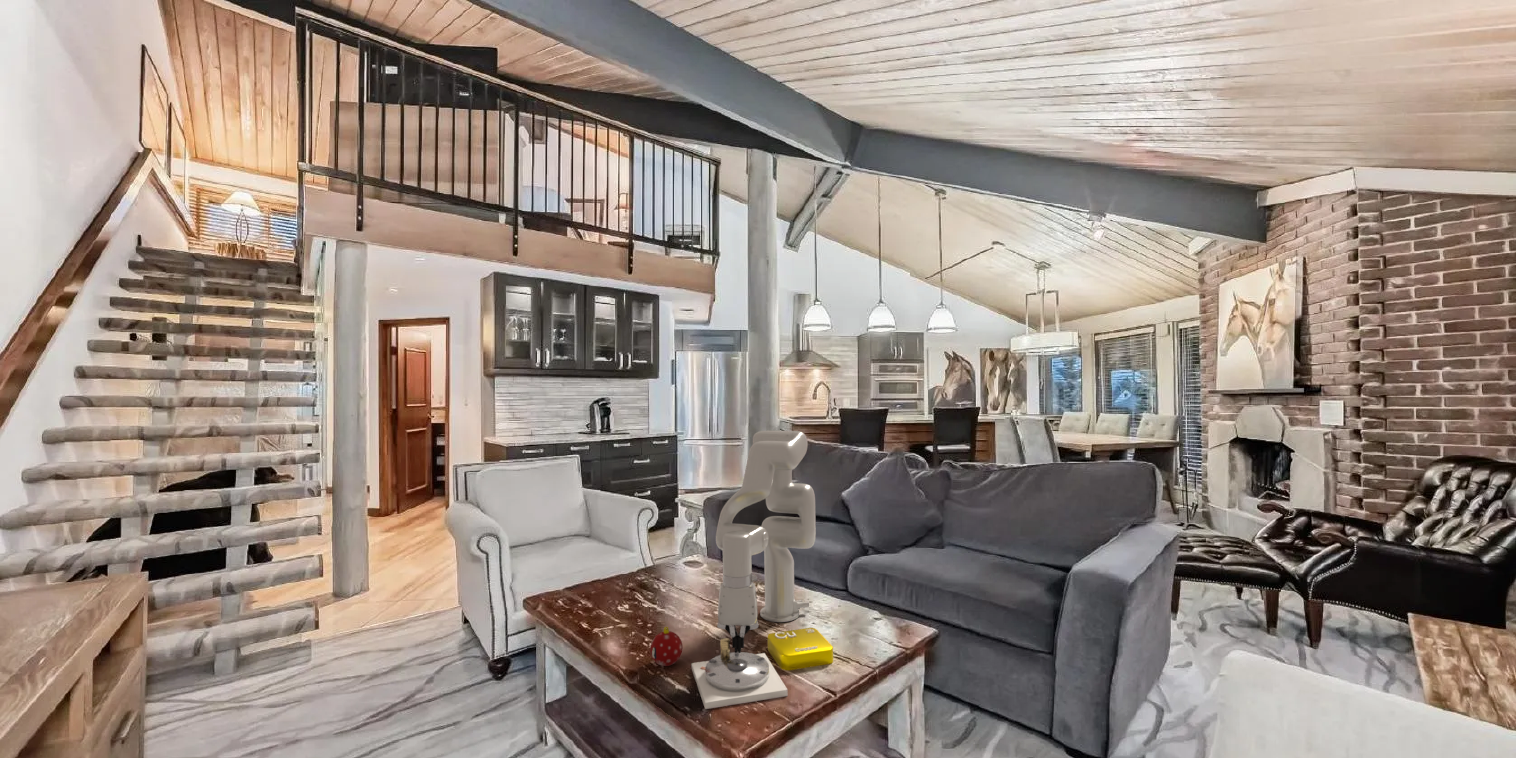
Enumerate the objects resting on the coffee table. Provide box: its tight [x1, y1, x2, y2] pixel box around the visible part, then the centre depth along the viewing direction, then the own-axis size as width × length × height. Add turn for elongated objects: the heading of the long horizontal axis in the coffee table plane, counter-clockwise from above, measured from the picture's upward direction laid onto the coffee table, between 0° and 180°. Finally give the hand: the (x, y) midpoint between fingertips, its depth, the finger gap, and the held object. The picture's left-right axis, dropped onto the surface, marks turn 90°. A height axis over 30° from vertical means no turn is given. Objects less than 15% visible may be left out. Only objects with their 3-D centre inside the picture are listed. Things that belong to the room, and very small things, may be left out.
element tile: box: [767, 627, 834, 671], centre depth 165 cm, size 15×15×5 cm
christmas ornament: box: [649, 626, 684, 667], centre depth 160 cm, size 9×9×10 cm
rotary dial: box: [705, 637, 769, 691], centre depth 150 cm, size 16×16×6 cm
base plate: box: [690, 652, 789, 710], centre depth 150 cm, size 20×20×2 cm
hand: (738, 650), depth 156 cm, fingers closed
